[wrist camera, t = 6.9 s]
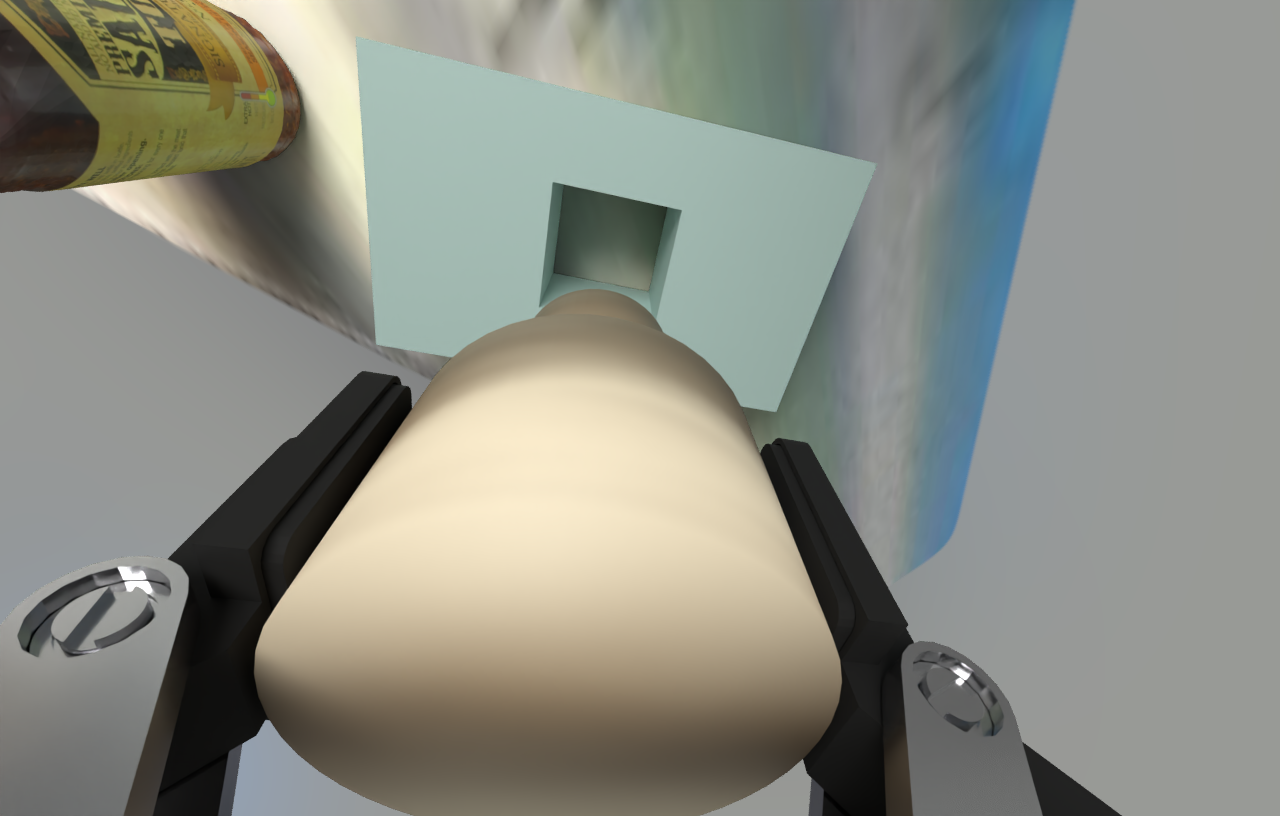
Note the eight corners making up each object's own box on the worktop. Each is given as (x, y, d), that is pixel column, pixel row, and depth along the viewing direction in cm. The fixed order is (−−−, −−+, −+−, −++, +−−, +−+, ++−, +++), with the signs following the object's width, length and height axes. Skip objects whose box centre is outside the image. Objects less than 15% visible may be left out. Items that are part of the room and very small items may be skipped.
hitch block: (411, 50, 22) (355, 36, 18) (829, 152, 25) (877, 163, 20) (417, 304, 28) (376, 344, 24) (752, 365, 31) (776, 412, 26)
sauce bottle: (327, 68, 23) (-560, -35, 6) (286, 190, 25) (-410, 371, 8) (164, -45, 21) (-2029, -750, 4) (137, 100, 23) (-1214, 95, 6)
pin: (483, 215, 12) (180, 456, 4) (741, 269, 13) (954, 560, 5) (473, 436, 15) (298, 824, 7) (679, 467, 16) (740, 846, 8)
